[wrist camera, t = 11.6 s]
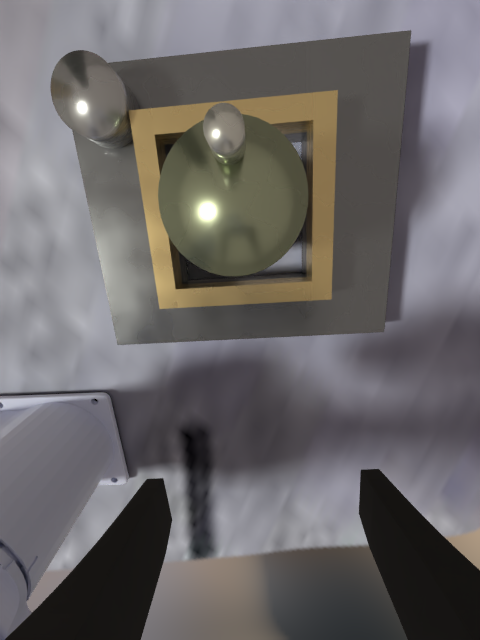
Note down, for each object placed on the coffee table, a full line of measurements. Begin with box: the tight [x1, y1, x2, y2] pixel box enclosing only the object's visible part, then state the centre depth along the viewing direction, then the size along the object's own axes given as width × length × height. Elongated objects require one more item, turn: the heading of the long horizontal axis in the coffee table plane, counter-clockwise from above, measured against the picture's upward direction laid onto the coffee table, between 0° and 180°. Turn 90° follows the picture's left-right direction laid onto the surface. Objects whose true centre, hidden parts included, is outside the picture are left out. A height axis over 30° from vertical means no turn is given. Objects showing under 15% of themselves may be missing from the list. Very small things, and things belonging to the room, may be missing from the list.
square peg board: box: [51, 30, 411, 345], centre depth 15 cm, size 16×14×4 cm
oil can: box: [158, 103, 308, 276], centre depth 12 cm, size 5×5×10 cm
